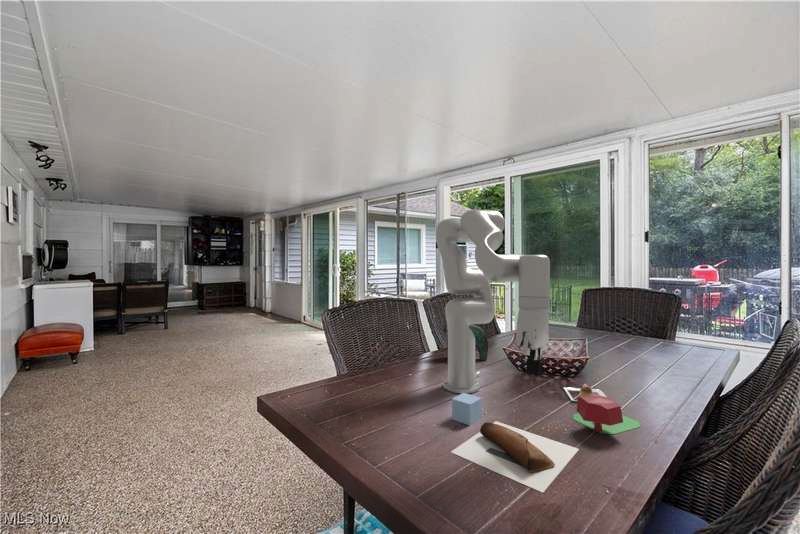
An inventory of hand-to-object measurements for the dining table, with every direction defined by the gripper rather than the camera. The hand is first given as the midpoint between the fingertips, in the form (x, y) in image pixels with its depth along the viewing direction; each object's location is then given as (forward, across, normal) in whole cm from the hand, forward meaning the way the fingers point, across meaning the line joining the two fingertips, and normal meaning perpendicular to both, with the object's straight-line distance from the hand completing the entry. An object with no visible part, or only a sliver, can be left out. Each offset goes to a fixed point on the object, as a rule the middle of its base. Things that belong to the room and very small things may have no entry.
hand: (533, 374), depth 94 cm
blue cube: (+16, +3, -18) cm, 25 cm away
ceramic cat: (+16, -49, -52) cm, 74 cm away
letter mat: (+16, +10, 0) cm, 19 cm away
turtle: (+16, -20, +11) cm, 28 cm away
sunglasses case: (+16, +10, 0) cm, 19 cm away
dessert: (+17, -38, +2) cm, 42 cm away
